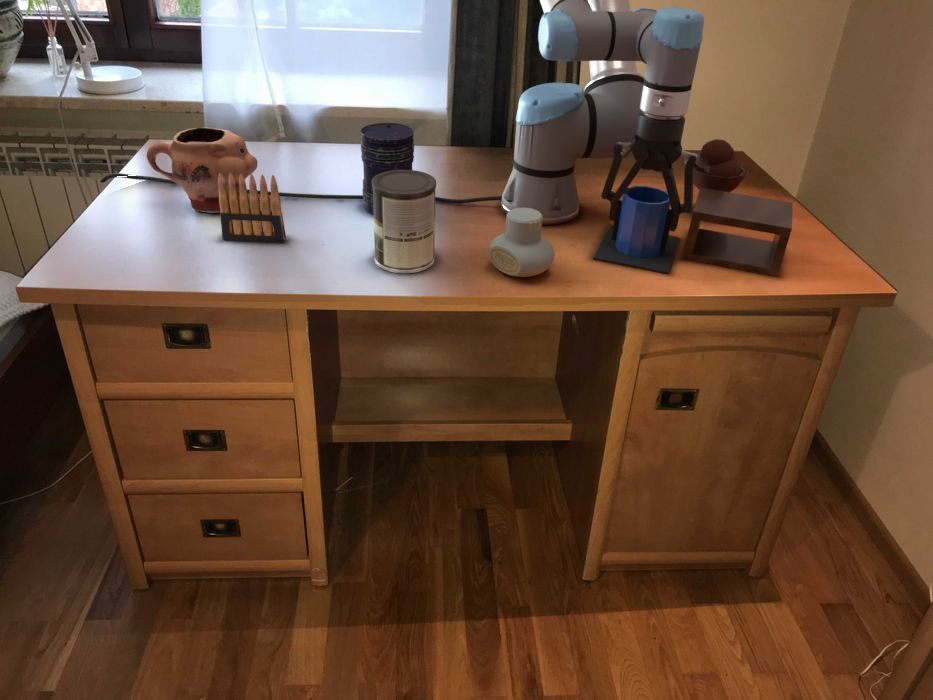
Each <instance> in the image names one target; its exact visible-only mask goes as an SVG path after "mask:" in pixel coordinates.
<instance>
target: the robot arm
mask: <svg viewBox="0 0 933 700" xmlns="http://www.w3.org/2000/svg"><path fill="white" fill-rule="evenodd" d="M539 3H540V5H541V8H542V11H543V14H542V15H541V18H540V21H539V25H538V32H537V33H538V34H537V36H538V37H537V41H538V49H539V52H540V55H541V56H542V58H544V59H545V60H548V61H557V62H562V63H569V62H588V65H589V74H590V75H589V76H590V81H589V82H588V83H587V84H586V85H585V87H584V88H583V87H582V86H581V85H579V84H577V83H573V82H572V83H571V82H566V83H564V82H547V83H542V84H538V85H535V86H532V87H529V88H528V89H526V90H525V91H524V92H523V93H522V94H521V95H520V97H519V100H518V106H517V112H516V116H515V121H516V124H515V125H516V126H515V139H514V151H513V152H514V153H513V166H512V171H511V173H510V175H509V178H508V180H507V182H506V185H505V187H504V190H503V192H502V195H495V196H494V195H493V196H492V195H491V196H482V197H481V196H480V197H479V196H478V197H471V198H470V197H469V198H463V199H462V198H460V199H459V198H458V199H456V198H445V197H439V196H435V202H440V203H446V204H470V203H476V202H477V203H479V202H489V201H492V202H493V201H500V209H501V211H502V212H503V213H504V214H505V215H506V216H507V213H508V212H509V211H510V210H512V209H515V208H531V209H534V210H537V211H539V212H540V213H541V214H542V216H543V222H542V226H545V225H546V226H548V225H549V226H550V225H559V224H564V223H567V222H570V221H572V220H574V219H575V218H576V217H578V215H579V213H580V198H579V193H578V188H577V184H576V183H577V182H576V179H575V167H576V161H577V160H578V159H612V161H611V164H610V168H609V171H608V174H607V177H606V180H605V183H604V186H603V189H602V192H601V199H603V200H607V201H609V203H610V207H609V213H608V219H609V221H613V225H614V226H613V232H612V239H611V240H615V241H616V236H617V230H618V223H619V217H620V211H621V205H622V200H621V199H622V198H623V193H624V192H625V191H626V189H627V188H629V187H630V185H631V184H632V182H633V181H634V179H635V177H636V176H637V175H638V173H639V172H640V170H641V169H642V170H644V171H650V170H652V171H654V172H657V173H661V175H662V178H663V180H664V181H663V182H664V184H665V188H666V192H667V193H668V197H669V201H670V209H669V212H668V214H667V219H666V224H665V229H664V234H663V239H662V244H661V249H663V250H665V248H666V245H667V241H668V236H670V232H675V231H676V230H677V229H678V224H679V220H680V215H681V214H690V213H691V212H692V210H693V207H694V184H693V176H694V165H695V162H696V159H697V157H698V152H697V151H692V152H690V151H688V150H687V151H686V150H684V149H683V146H682V139H683V134H684V128H685V123H686V117H685V115H686V114H687V113H688V108H689V105H690V100H691V99H690V98H691V94H692V87H693V82H694V79H695V73H696V69H697V65H698V59H699V55H700V49H701V45H702V44H703V43H702V42H703V38H704V37H703V33H704V32H703V31H704V25H705V16H704V14H703V13H702V12H701V11H700V10H696V9H691V8H687V7H679V6H678V7H677V6H675V7H674V6H668V7H661V8H659V9H658V10H656V9H654V8H647V7H637V8H635V9H633V10H631V6H630V5H631V4H630V0H539ZM637 62H641V63H644V64H645V65H646V66H645V72H644V75H642V74H640V73H639V72H638V71H637ZM627 158H634V160H635V163H633V165H632V167H631V169H630V170H629V171H628V173H627V174H626V176H625V177H624V179H623V180H622V182H621V183H620V185H619V186H618V188H617V189H616V191H615V192H614V191H613V190H612V189H613V187H614V184H615V181H616V178H617V175H618V174H619V173H618V172H619V170H620V167H621V164H622V161H623V159H627ZM679 158H680V159H681V163H682V166H684V167H685V168H684V176H683V179H684V180H683V182H684V183H683V203H682V202H681V199H680V195H679V190H678V187H677V182H676V179H675V174H674V167H673V164H674V163H675V162H676V161H678V159H679ZM128 175H130V174H128V173H122V172H121V173H120V172H114V173H110V174H107V175H105V176H103V177H102V178H101V179H100V180H99V183H101V184H102V183H106V182H107V181H108V180H110V179H113V178H118V177H117V176H127V177H121V179H130V180H139V181H152V182H159V183H166V184H172V185H178V184H177V183H175V182H173V181H172V180H170V179H169V178H163V177H158V176H149V175H136V174H135V175H136V176H128ZM257 192H258V196H260V190H258V189H257ZM278 192H279V197H280V198H281V197H282V198H296V199H297V198H299V199H300V198H301V199H319V200H363V194H320V193H319V194H318V193H315V194H314V193H294V192H280V191H278ZM247 193H248V195H250V189H248V188H247ZM268 195H269V197H271V191H268Z"/></svg>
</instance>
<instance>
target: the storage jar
mask: <svg viewBox="0 0 933 700" xmlns="http://www.w3.org/2000/svg"><path fill="white" fill-rule="evenodd" d="M414 132H415V131H414V129H413V128H412V127H410V126H408V125H406V124H402V123H395V122H380V123H379V122H377V123H371V124H368V125H365V126H363V127H362V128H361V129H360V137H361V138H360V153H361V161H362V163H363V165H362V167H363V179H362V195H363V199H362V200H363V210H364V212H366V213H367V214H369V215H371V216H374V212H373V187H372V179H373V178H374V177H375V176H376V175H378V174H380V173H383V172H386V171H391V170H413V163H414V160H415V159H414V158H415V155H414V154H415V144H414V141H415V140H414V137H415V136H414V134H415V133H414Z"/></svg>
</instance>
